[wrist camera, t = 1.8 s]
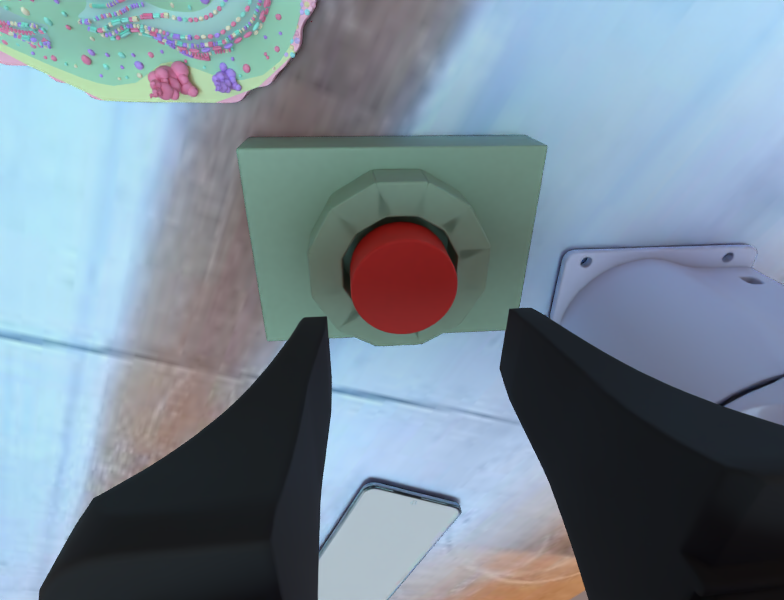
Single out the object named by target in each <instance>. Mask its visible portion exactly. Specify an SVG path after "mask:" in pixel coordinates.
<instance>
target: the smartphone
mask: <svg viewBox="0 0 784 600" xmlns="http://www.w3.org/2000/svg"><path fill="white" fill-rule="evenodd" d="M460 514H461V508H460V505H459V504H458V503H456V502H453V501H449V500H445V499H441V498H437V497H433V496H429V495H425V494H421V493H417V492H412V491H408V490H404V489H400V488H396V487H392V486H388V485H384V484H380V483H375V482H373V483H368V484H366V485H364V486H363V487H362V489H361V490H360V492H359V493H358V495H357V496H356V498H355V499H354V501H353V502H352V504H351V505H350V507H349V508H348V510H347V511H346V513H345V514H344V516H343V517H342V519H341V520H340V522H339V523H338V525H337V526H336V528H335V529H334V531H333V532H332V534H331V535H330V537H329V538H328V540H327V541H326V543H325V544H324V546H323V547H322V549H321V550H320V552H319V568H318V600H388V599H389V598H390V597H391V596H392V595H393V594H394V592H395V591H396V590H397V589H398V588H399V586H400V585H401V584H402V583H403V582H404V580H405V579H406V578H407V577H408V576H409V575H410V573H411V572H412V571H413V570H414V569H415V567H416V566H417V565H418V564H419V563H420V562H421V560H422V559H423V558H424V557H425V556H426V554H427V553H428V552H429V551H430V550H431V549H432V547H433V546H434V545H435V544H436V543H437V541H438V540H439V539H440V538H441V537H442V536H443V534H444V533H445V532H446V531H447V530H448V528H449V527H450V526H451V525H452V524H453V523H454V521H455V520H456V519H457V518H458V517H459V515H460Z"/></svg>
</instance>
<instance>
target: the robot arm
mask: <svg viewBox="0 0 784 600" xmlns="http://www.w3.org/2000/svg"><path fill="white" fill-rule="evenodd" d="M726 254H727V255H726ZM724 255H726V256H725V257H724ZM756 256H757V249H756V248H755V247H753V246H751V245H747V244H742V245H710V246H678V247H645V248H613V249H581V250H571V251H569V252H567V253H566V254H565V255H564V257H563V259H562V263H561V267H560V272H559V277H558V281H557V286H556V290H555V295H554V300H553V304H552V309H551V313H550V318H548V317H547V316H545V315H543V314H542V313H540V312H538V311H536V310H534V309H532V308H513V309H509V313H508V319H507V325H506V332H505V338H504V344H503V350H502V356H501V362H500V371H501V375H502V378H503V381H504V384H505V388H506V390H507V393H508V396H509V399H510V401H511V404H512V406H513V408H514V410H515V412H516V414H517V416H518V418H519V420H520V423H521V425H522V427H523V429H524V431H525V433H526V435H527V437H528V439H529V441H530V443H531V445H532V447H533V449H534V451H535V453H536V455H537V457H538V459H539V461H540V463H541V465H542V467H543V470H544V472H545V474H546V476H547V479H548V481H549V483H550V486H551V489H552V491H553V494H554V497H555V500H556V502H557V505H558V508H559V510H560V513H561V516H562V519H563V522H564V525H565V528H566V531H567V533H568V536H569V539H570V542H571V545H572V548H573V551H574V554H575V557H576V560H577V564H578V567H579V570H580V573H581V577H582V580H583V583H584V586H585V590H586V592H587V596H588V599H589V600H784V285H782V284H780V283H779V282H777V281H775V280H773V279H771V278H769V277H767V276H766V275H764V274H762V273H760V272H758V271H756V270H755V269H753V268H752V265H753V263H754V261H755V259H756ZM586 257H588V259H587V261H586V262H585V263H583V264H581V261H582V260H583V259H584V258H586ZM723 257H724V258H723ZM331 398H332V375H331V362H330V349H329V336H328V323H327V316H323V317H304V318H303V319H302V320H301V321H300V322H299V323H298V325H297V327H296V328H295V330H294V332H293V333H292V335H291V336H290V338H289V339H288V341H287V342H286V343H285V345H284V346H283V348H282V349H281V350H280V352H279V353H278V354H277V356H276V357H275V358H274V360H273V361H272V362H271V363H270V365H269V366H268V367H267V368H266V369H265V371H264V372H263V373H262V374H261V375H260V376H259V377H258V379H257V380H256V381H255V382H254V383H253V384H252V385H251V387H250V388H249V389H248V390H247V391H246V392H245V393H244V394H243V395H242V396H241V397H240V398H239V399H238V400H237V401H236V402H235V403H234V404H233V405H232V406H230V407H229V408H228V409H227V410H226V411H225V412H224V413H223V414H222V415H220V416H219V417H218V418H217V419H215V420H214V421H213V422H212V423H210V424H209V425H208V426H207V427H205V428H204V429H203V430H202V431H200V432H199V433H198V434H197V435H195V436H194V437H193V438H191V439H190V440H188V441H187V442H186V443H184V444H183V445H181V446H180V447H179V448H177V449H176V450H174V451H173V452H171V453H170V454H168V455H167V456H165V457H164V458H162V459H161V460H159V461H157V462H156V463H154V464H153V465H151V466H149V467H148V468H146V469H145V470H143V471H141V472H139V473H138V474H136V475H134V476H132V477H131V478H129V479H127V480H125V481H124V482H122V483H120V484H118V485H117V486H115V487H113V488H112V489H110V490H108V491H106V492H104V493H103V494H101V495H99V496H97V497H95V498H93V500H92V501H91V503H90V504H89V506H88V508H87V509H86V510H85V512H84V513H83V515H82V516H81V518H80V519H79V521H78V522H77V524H76V526H75V527H74V529H73V531H72V532H71V534H70V536H69V538H68V539H67V541H66V543H65V545H64V547H63V548H62V550H61V552H60V554H59V556H58V557H57V559H56V561H55V563H54V565H53V566H52V568H51V570H50V572H49V574H48V575H47V577H46V579H45V581H44V583H43V584H42V586H41V588H40V591H39V600H318V568H319V530H320V500H321V489H322V479H323V472H324V464H325V456H326V448H327V441H328V433H329V425H330V417H331Z"/></svg>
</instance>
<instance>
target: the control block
mask: <svg viewBox="0 0 784 600" xmlns="http://www.w3.org/2000/svg"><path fill="white" fill-rule="evenodd" d="M236 152H237V158H238V164H239V170H240V176H241V183H242V189H243V195H244V201H245V208H246V214H247V220H248V226H249V232H250V239H251V245H252V251H253V257H254V263H255V270H256V276H257V282H258V288H259V294H260V301H261V307H262V313H263V319H264V325H265V332H266V338H267V341H283V340H288V339H289V338H290V336H291V335H292V333H293V332H294V330H295V328H296V327H297V325H298V323H299V322H300V321H301V320H302V319H303V318H304V317H323V316H327V323H328V336H329V338H347V337H355V338H358V339H360V340H362V341H365V342H367V343H370V344H372V345H374V346H395V345H416V344H423V343H425V342H427V341H429V340H431V339H433V338H434V337H436V336H438V335H440V334H442V333H455V332H477V331H498V330H506V325H507V319H508V313H509V309H513V308H519V306H520V300H521V295H522V289H523V283H524V277H525V272H526V266H527V260H528V255H529V249H530V243H531V238H532V232H533V226H534V221H535V215H536V209H537V203H538V198H539V192H540V186H541V181H542V175H543V169H544V164H545V158H546V152H547V145H545V144H543V143H541V142H539V141H537V140H535V139H533V138H530V137H528V136H526V135H477V136H351V137H249V138H247V139H246V140H245V141H244V142H243V143H242V144H241V145H240V146H239V147H238V148H237V150H236ZM392 222H411V223H415V224H419V225H421V226H424V227H426V228H427V229H429V230H430V231H432V232H433V233H434V234H435V235H436V236H437V237H438V238H439V239H440V240H441V242H442V243H443V245H444V247H445V249H446V251H447V253H448V255H449V257H450V259H451V261H452V263H453V265H454V267H455V270H456V274H457V280H458V286H457V293H456V296H455V299H454V302H453V304H452V306H451V307H450V309H449V310H448V312H447V313H446V314H445V315H444V316H443V317H442V318H441V319H440V320H439V321H438V322H436V323H435V324H434V325H432V326H430V327H428V328H426V329H424V330H421V331H418V332H415V333H410V334H393V333H388V332H384V331H381V330H378V329H376V328H374V327H373V326H371V325H370V324H368V323H367V322H366V321H365V320H364V319H363V318H362V317H361V316H360V315H359V314H358V312H357V310H356V309H355V307H354V304H353V302H352V298H351V288H350V263H351V258H352V255H353V252H354V250H355V248H356V246H357V245H358V243H359V242H360V241H361V240H362V238H363V237H364V236H366V235H367V234H368V233H369V232H371V231H372V230H374V229H375V228H377V227H379V226H382V225H384V224H388V223H392Z"/></svg>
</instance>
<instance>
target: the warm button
mask: <svg viewBox="0 0 784 600" xmlns="http://www.w3.org/2000/svg"><path fill="white" fill-rule="evenodd" d="M457 286H458V280H457V274H456V270H455V267H454V265H453V263H452V261H451V259H450V257H449V255H448V253H447V251H446V249H445V247H444V245H443V243H442V242H441V240H440V239H439V238H438V237H437V236H436V235H435V234H434V233H433V232H432V231H430V230H429V229H427V228H426V227H424V226H421V225H419V224H415V223H411V222H392V223H388V224H384V225H382V226H379V227H377V228H375V229H374V230H372V231H371V232H369V233H368V234H367V235H366V236H364V237H363V238H362V240H361V241H360V242H359V243H358V245H357V246H356V248H355V250H354V252H353V255H352V258H351V263H350V288H351V298H352V302H353V304H354V307H355V309H356V310H357V312H358V314H359V315H360V316H361V317H362V318H363V319H364V320H365V321H366V322H367V323H368V324H370V325H371V326H373V327H374V328H376V329H378V330H381V331H384V332H388V333H393V334H410V333H415V332H418V331H421V330H424V329H426V328H428V327H430V326H432V325H434V324H435V323H436V322H438V321H439V320H440V319H441V318H442V317H443V316H444V315H445V314H446V313H447V312H448V310H449V309H450V307H451V306H452V304H453V302H454V299H455V296H456V293H457Z"/></svg>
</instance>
